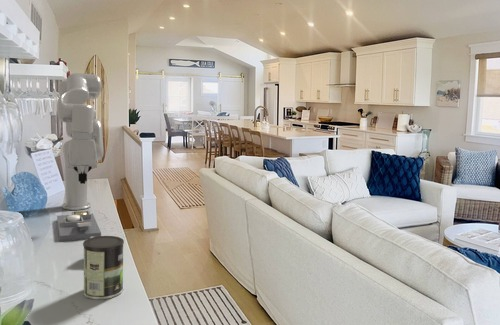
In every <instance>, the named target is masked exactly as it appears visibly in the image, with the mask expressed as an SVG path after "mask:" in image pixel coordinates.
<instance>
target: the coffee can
mask: <svg viewBox="0 0 500 325" xmlns="http://www.w3.org/2000/svg"><path fill="white" fill-rule="evenodd" d="M124 244H125V240H124V239H123V238H121V237H119V236H114V235H101V236H98V237H93V238H89V239H84V241H83V243H82V246H83V292H82V293H83V296H85V297H86V298H87V299H91V300H98V301H99V300H108V299H111V298H112V299H113V298H116V297H118V296H119V295H121V294H122V292H123V291H124V285H123V284H124Z"/></svg>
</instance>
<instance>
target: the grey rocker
mask: <svg viewBox="0 0 500 325" xmlns="http://www.w3.org/2000/svg"><path fill="white" fill-rule="evenodd" d="M77 226H78V227H83V226H91V223H89V222H87V223H77Z"/></svg>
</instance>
